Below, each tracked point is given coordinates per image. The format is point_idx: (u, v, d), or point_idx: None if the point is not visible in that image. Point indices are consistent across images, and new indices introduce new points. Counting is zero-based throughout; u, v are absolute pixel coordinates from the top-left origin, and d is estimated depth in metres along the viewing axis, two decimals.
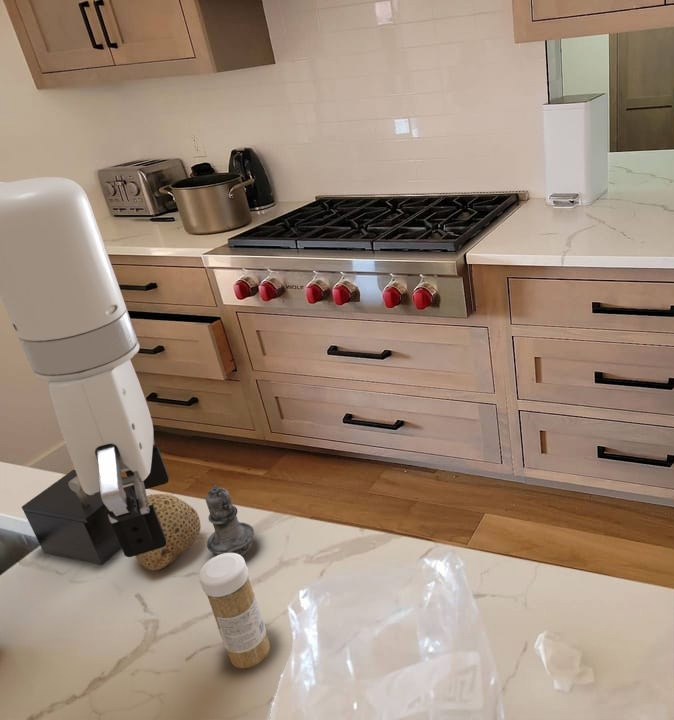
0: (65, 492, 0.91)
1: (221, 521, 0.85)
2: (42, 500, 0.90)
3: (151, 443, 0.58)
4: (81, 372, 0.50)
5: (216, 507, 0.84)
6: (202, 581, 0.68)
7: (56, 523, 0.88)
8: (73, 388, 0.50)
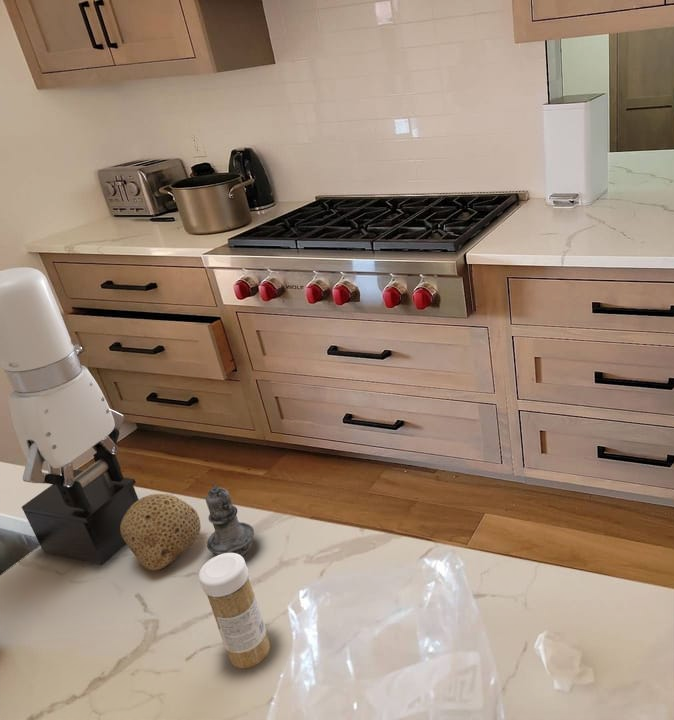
0: None
1: (221, 520, 0.85)
2: (42, 500, 0.90)
3: (88, 443, 0.85)
4: (21, 393, 0.79)
5: (216, 507, 0.84)
6: (202, 581, 0.68)
7: (56, 523, 0.88)
8: (13, 402, 0.79)
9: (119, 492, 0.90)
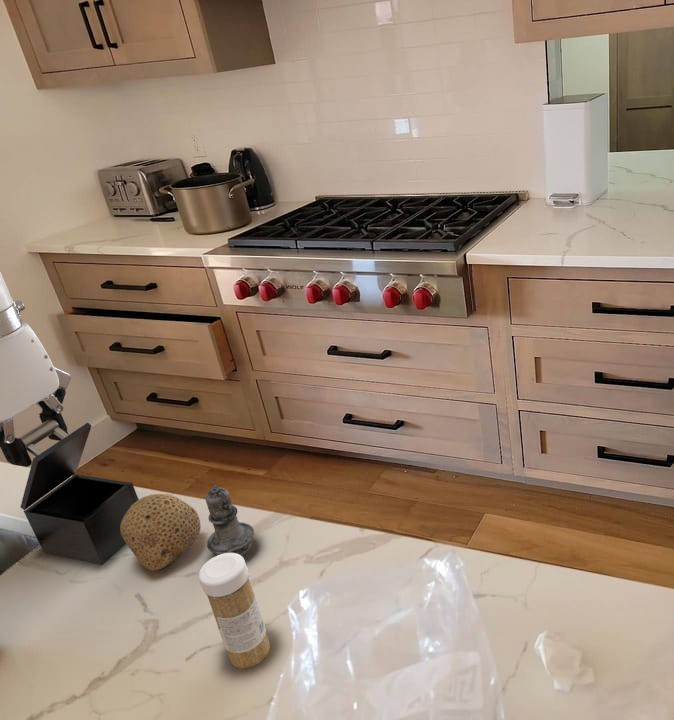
0: None
1: (221, 520, 0.85)
2: None
3: (29, 400, 0.85)
4: None
5: (216, 507, 0.84)
6: (202, 581, 0.68)
7: (56, 523, 0.88)
8: None
9: (70, 434, 0.88)
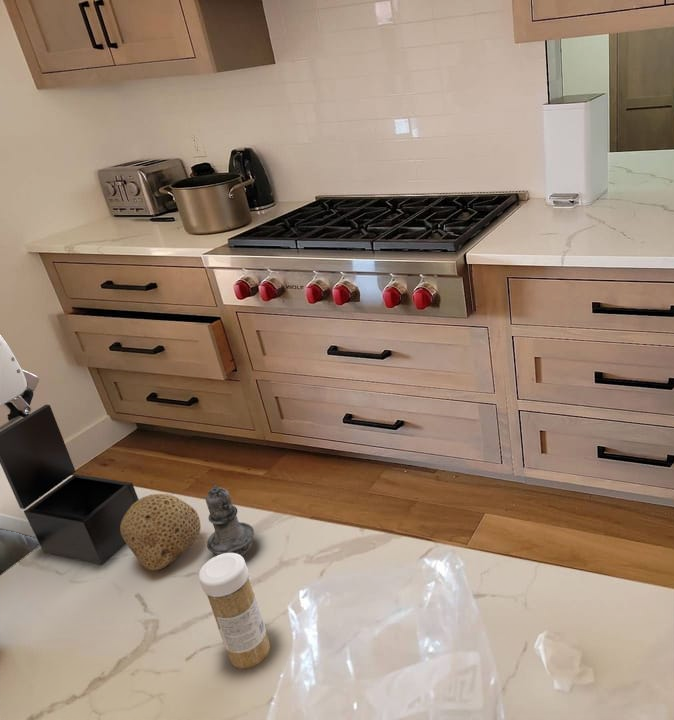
0: None
1: (221, 520, 0.85)
2: None
3: None
4: None
5: (216, 507, 0.84)
6: (202, 581, 0.68)
7: (56, 523, 0.88)
8: None
9: (28, 415, 0.89)
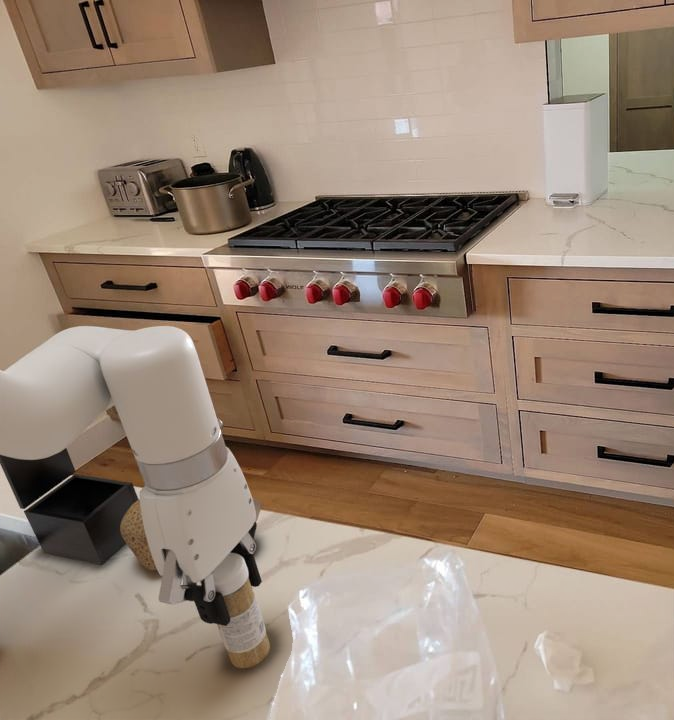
0: None
1: None
2: None
3: (230, 544, 0.67)
4: (158, 490, 0.60)
5: None
6: None
7: (56, 523, 0.88)
8: (148, 502, 0.60)
9: None
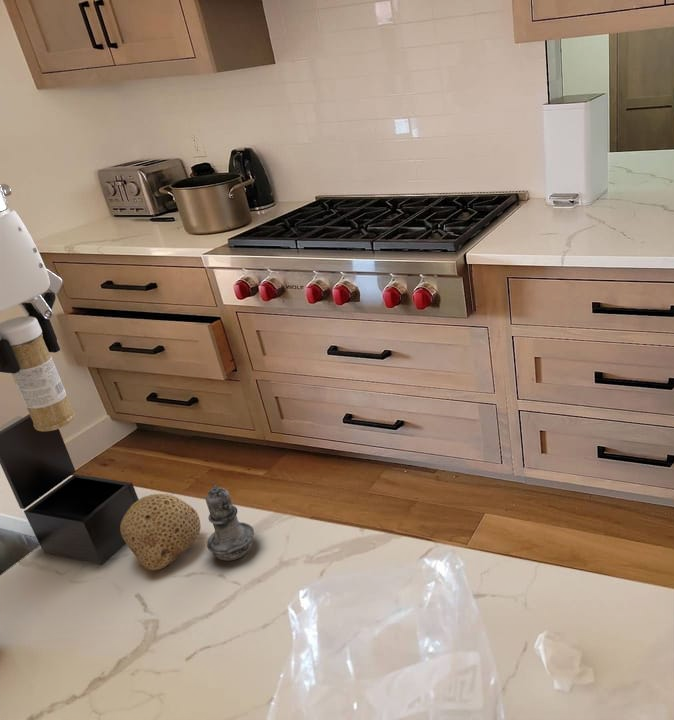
0: None
1: (221, 521, 0.85)
2: None
3: (16, 296, 0.75)
4: None
5: (216, 507, 0.84)
6: None
7: (56, 523, 0.88)
8: None
9: (27, 415, 0.89)
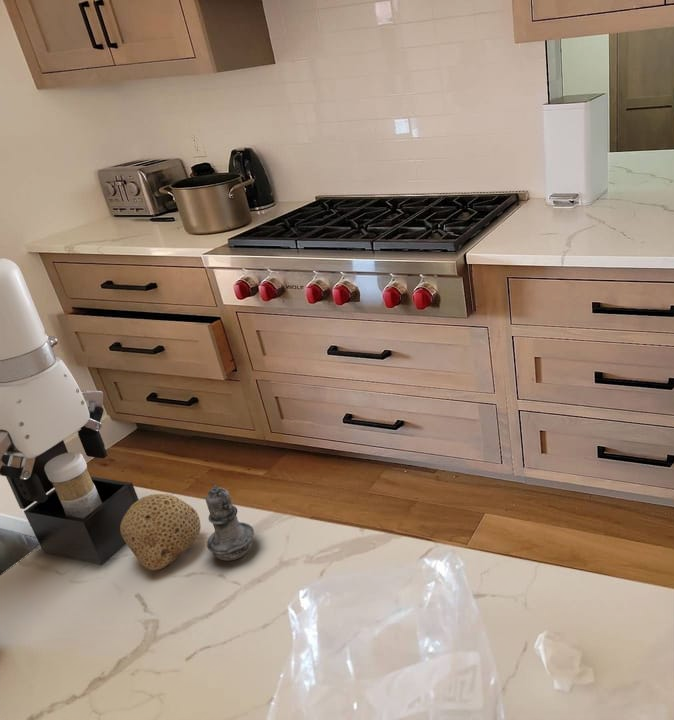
0: None
1: (221, 521, 0.85)
2: None
3: (62, 433, 0.86)
4: None
5: (216, 507, 0.84)
6: (45, 470, 0.87)
7: (56, 523, 0.88)
8: None
9: None
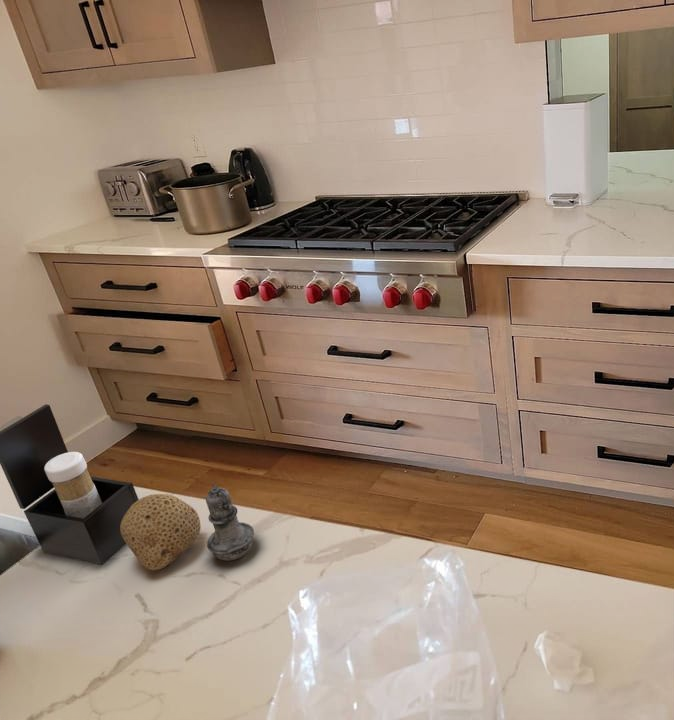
0: None
1: (221, 520, 0.85)
2: None
3: None
4: None
5: (216, 507, 0.84)
6: (45, 470, 0.87)
7: (56, 523, 0.88)
8: None
9: (27, 415, 0.89)
